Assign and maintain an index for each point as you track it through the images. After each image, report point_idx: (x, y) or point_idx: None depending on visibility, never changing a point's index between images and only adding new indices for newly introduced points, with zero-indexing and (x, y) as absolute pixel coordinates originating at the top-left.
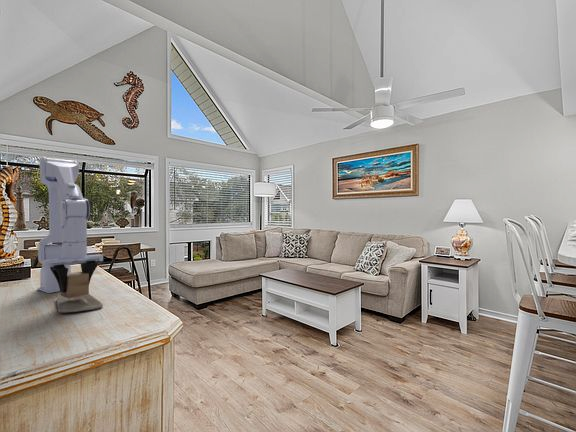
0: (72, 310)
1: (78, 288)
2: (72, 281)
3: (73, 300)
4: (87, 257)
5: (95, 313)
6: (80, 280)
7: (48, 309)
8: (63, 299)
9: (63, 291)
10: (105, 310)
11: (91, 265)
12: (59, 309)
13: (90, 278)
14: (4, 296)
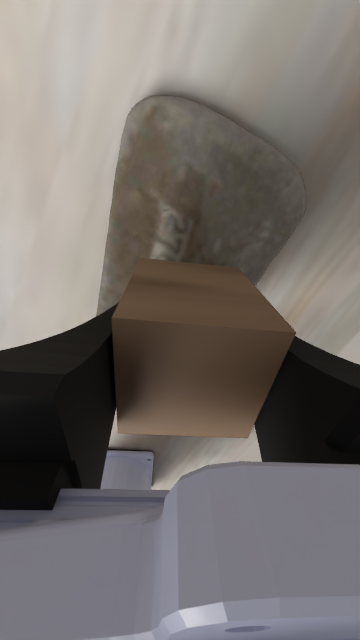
0: (278, 154)
1: (197, 278)
2: (248, 304)
3: None
4: (2, 632)
5: (218, 21)
6: (189, 298)
7: None
8: None
9: None
10: (153, 21)
11: (38, 373)
12: (297, 219)
13: (97, 317)
14: None
